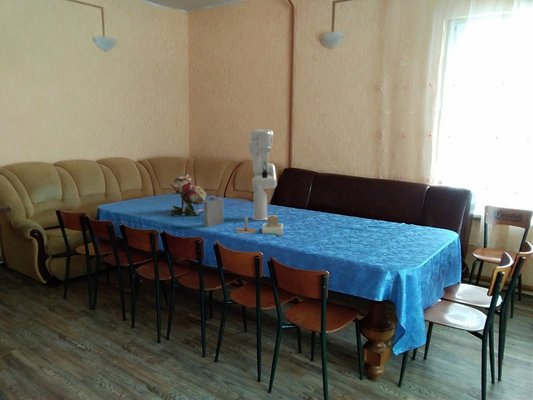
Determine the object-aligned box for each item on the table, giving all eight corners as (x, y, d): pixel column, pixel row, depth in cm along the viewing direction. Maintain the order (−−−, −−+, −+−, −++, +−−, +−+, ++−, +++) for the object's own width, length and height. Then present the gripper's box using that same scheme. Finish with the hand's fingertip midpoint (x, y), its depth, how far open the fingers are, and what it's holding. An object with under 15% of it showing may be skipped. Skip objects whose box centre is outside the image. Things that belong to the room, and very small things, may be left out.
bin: (264, 230, 282) (264, 223, 281) (282, 231, 281) (282, 223, 280) (262, 235, 270) (262, 227, 269) (281, 235, 269) (281, 228, 268)
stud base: (238, 230, 283) (238, 214, 281) (256, 230, 282) (256, 214, 280) (235, 234, 271) (235, 218, 270) (254, 235, 270) (254, 218, 269)
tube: (267, 231, 276) (267, 215, 275) (274, 230, 279) (274, 215, 277) (270, 233, 272) (270, 217, 270) (278, 232, 274) (278, 216, 272)
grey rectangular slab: (206, 227, 291) (205, 198, 287) (202, 226, 293) (201, 197, 290) (224, 223, 302) (223, 195, 298) (220, 222, 305) (219, 194, 301)
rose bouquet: (205, 216, 326) (204, 176, 321) (166, 216, 327) (164, 176, 321) (209, 209, 352) (208, 172, 346) (173, 209, 352) (172, 172, 347)
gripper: (259, 149, 290) (259, 174, 294) (258, 151, 273) (258, 178, 277) (270, 149, 290) (270, 174, 294) (270, 151, 273) (270, 178, 277)
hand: (264, 176), depth 285 cm, fingers open, 9 cm apart
